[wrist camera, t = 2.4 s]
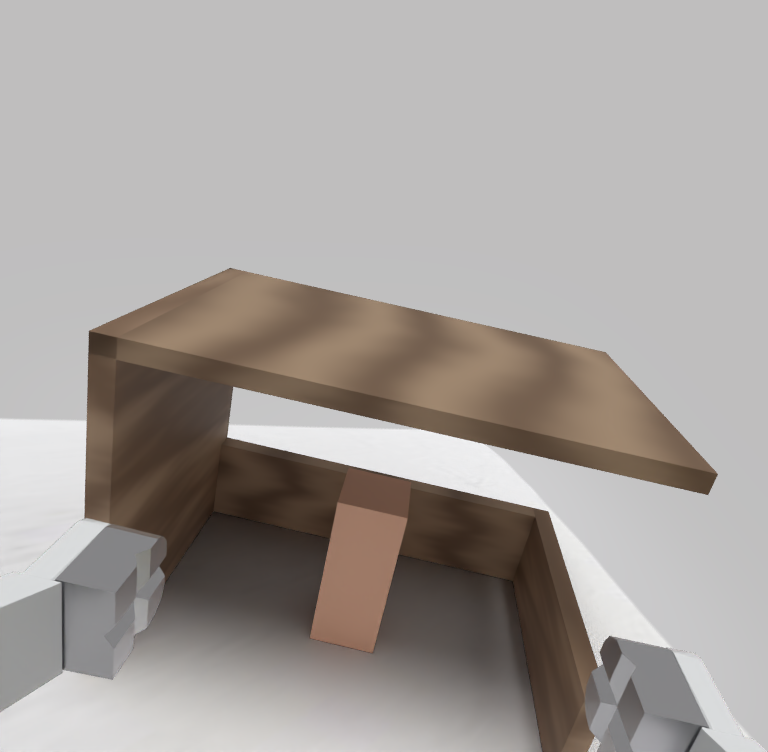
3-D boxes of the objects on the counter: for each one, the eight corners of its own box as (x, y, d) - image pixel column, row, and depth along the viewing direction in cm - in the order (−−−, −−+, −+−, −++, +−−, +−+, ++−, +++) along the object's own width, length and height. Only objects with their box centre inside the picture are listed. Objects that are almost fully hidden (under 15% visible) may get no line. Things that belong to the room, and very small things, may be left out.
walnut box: (80, 669, 30) (88, 330, 24) (204, 499, 46) (230, 268, 39) (570, 787, 30) (718, 474, 23) (525, 574, 45) (605, 352, 39)
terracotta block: (309, 638, 35) (337, 502, 32) (322, 593, 39) (348, 467, 36) (372, 653, 35) (407, 518, 32) (379, 607, 39) (411, 482, 35)
